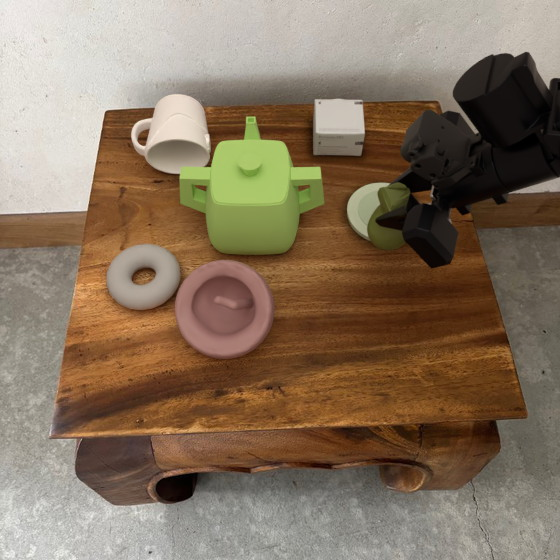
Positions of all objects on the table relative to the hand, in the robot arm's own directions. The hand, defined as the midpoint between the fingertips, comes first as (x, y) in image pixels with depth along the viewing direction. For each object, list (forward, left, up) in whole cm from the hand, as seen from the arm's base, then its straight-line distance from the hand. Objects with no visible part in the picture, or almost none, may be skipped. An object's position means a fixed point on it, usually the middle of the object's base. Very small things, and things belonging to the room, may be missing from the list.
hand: (382, 206), depth 66 cm
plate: (-1, -9, -13) cm, 16 cm away
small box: (+8, -23, -13) cm, 27 cm away
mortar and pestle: (+17, +14, -13) cm, 25 cm away
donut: (+30, +9, -13) cm, 34 cm away
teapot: (+18, -6, -13) cm, 23 cm away
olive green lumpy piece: (-1, 0, -7) cm, 7 cm away
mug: (+33, -15, -13) cm, 38 cm away
